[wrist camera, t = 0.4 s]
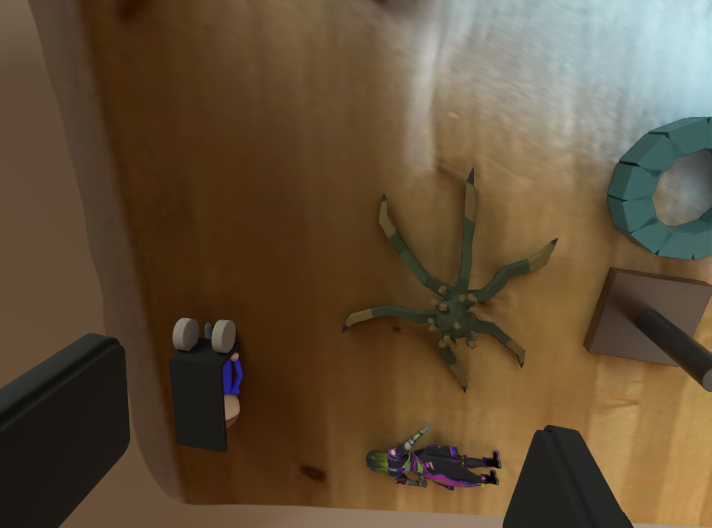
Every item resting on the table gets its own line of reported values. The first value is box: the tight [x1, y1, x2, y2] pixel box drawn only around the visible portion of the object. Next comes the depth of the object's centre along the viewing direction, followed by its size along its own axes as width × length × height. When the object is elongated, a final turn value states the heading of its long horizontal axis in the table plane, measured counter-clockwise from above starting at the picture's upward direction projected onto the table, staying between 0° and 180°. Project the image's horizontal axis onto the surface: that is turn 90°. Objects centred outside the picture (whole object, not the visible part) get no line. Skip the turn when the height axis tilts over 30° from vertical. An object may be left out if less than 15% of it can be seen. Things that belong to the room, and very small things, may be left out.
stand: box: [583, 268, 712, 392], centre depth 37 cm, size 9×9×12 cm
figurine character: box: [169, 318, 243, 452], centre depth 48 cm, size 7×8×15 cm
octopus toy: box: [342, 167, 558, 392], centre depth 40 cm, size 25×20×9 cm
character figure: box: [366, 426, 502, 491], centre depth 50 cm, size 9×4×16 cm
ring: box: [607, 117, 712, 260], centre depth 36 cm, size 12×12×3 cm
